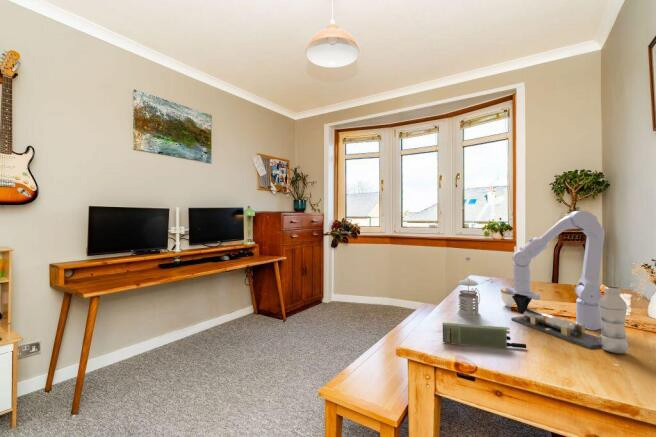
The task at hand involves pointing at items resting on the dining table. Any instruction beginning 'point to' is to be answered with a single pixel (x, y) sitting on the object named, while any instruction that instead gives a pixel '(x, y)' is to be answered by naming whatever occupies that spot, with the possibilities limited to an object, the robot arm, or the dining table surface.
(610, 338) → the plastic bottle
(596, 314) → the robot arm
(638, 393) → the dining table surface
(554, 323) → the tube
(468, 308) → the french press
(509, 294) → the lidded jar
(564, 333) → the plate
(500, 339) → the handheld radio
